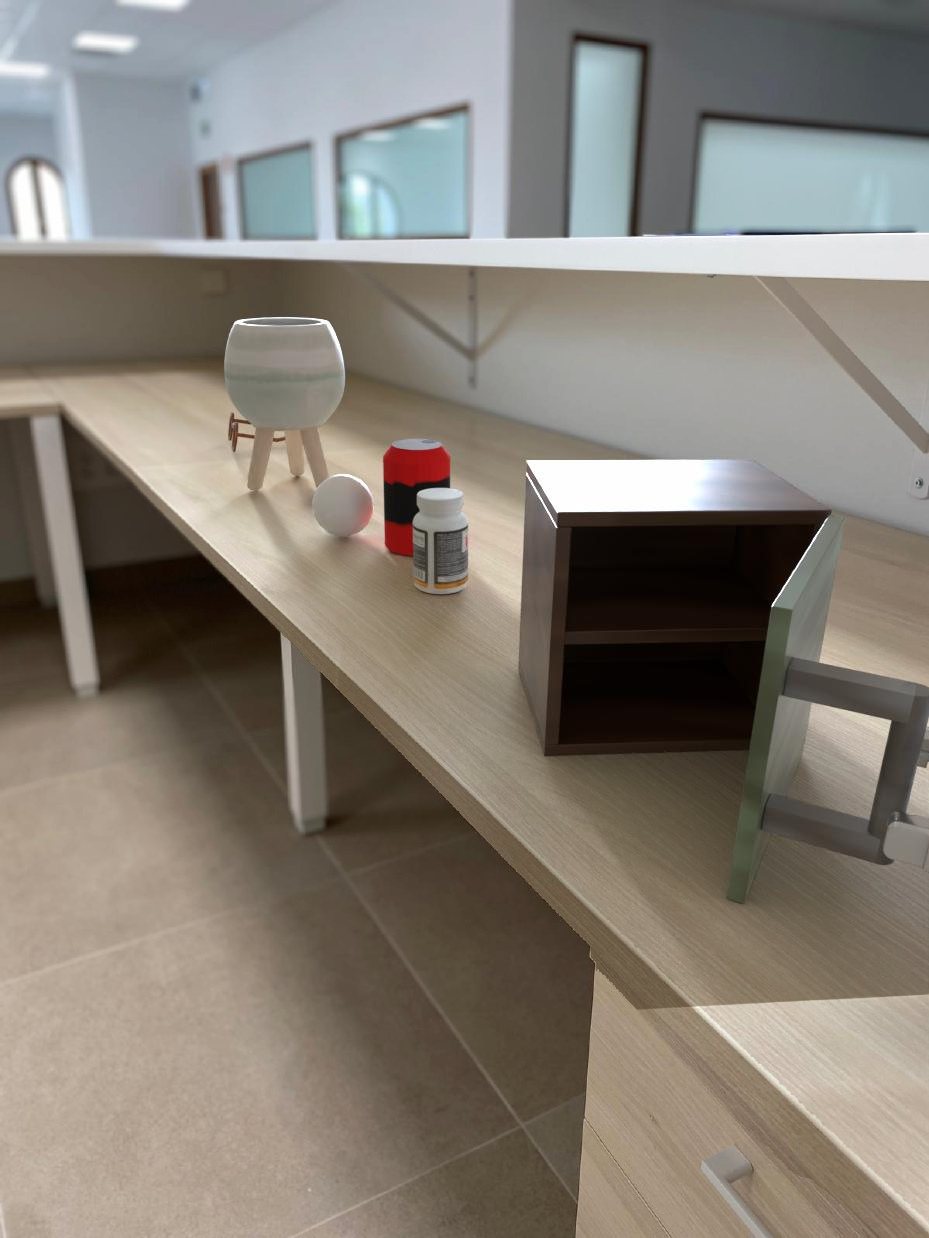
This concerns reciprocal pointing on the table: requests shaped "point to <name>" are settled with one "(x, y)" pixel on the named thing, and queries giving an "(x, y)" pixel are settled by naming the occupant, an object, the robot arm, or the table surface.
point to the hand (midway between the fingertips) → (890, 782)
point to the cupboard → (653, 599)
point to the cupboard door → (784, 721)
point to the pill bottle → (440, 542)
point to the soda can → (410, 486)
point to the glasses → (234, 431)
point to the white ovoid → (343, 505)
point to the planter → (285, 387)
